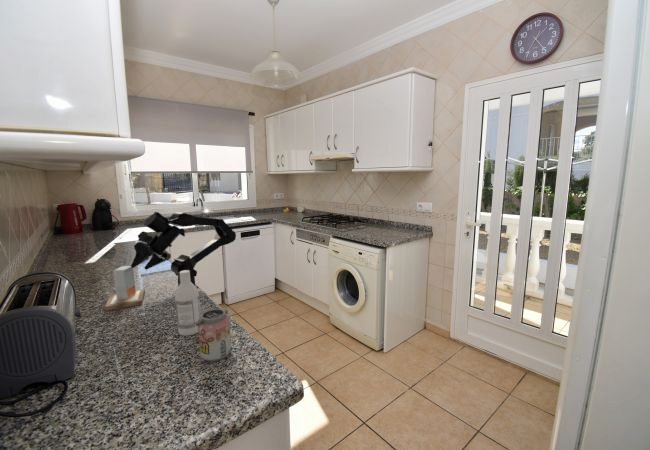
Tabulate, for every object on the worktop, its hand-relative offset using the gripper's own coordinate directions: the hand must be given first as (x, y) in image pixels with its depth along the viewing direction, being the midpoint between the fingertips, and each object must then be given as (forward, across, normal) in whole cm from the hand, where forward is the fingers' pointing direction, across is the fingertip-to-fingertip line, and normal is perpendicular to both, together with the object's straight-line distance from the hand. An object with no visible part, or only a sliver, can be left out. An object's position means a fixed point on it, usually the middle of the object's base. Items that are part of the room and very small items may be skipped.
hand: (138, 268), depth 122 cm
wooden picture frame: (+13, -3, +4) cm, 14 cm away
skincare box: (+12, -3, +3) cm, 13 cm away
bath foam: (-2, +21, +38) cm, 44 cm away
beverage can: (-6, +33, +51) cm, 61 cm away
